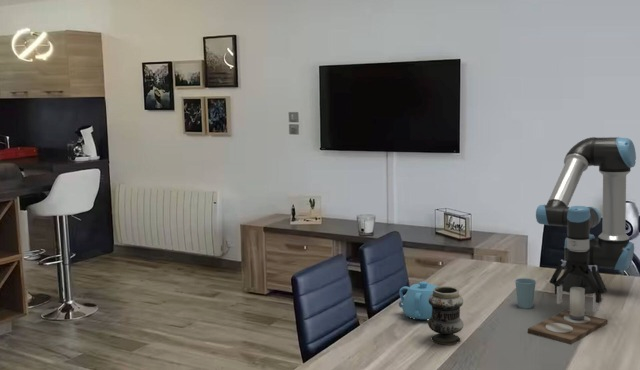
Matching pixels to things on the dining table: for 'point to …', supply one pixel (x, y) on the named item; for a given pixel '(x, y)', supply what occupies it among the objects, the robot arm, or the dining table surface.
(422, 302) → the decorative pot
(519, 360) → the dining table surface
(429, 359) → the dining table surface
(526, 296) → the cup
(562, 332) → the seat board
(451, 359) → the dining table surface
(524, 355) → the dining table surface
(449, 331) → the apothecary jar
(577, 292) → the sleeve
